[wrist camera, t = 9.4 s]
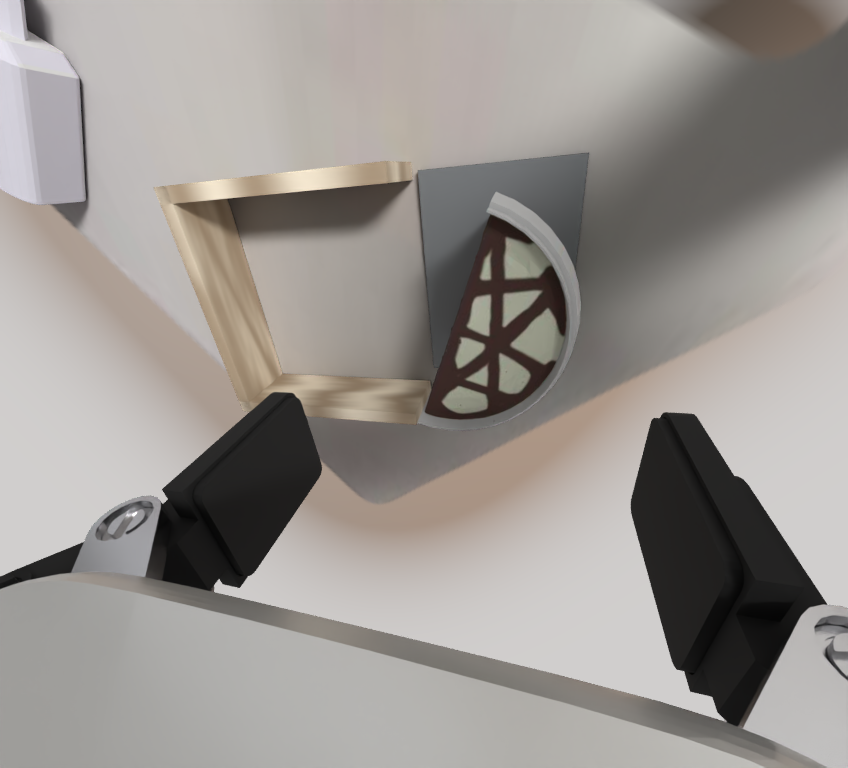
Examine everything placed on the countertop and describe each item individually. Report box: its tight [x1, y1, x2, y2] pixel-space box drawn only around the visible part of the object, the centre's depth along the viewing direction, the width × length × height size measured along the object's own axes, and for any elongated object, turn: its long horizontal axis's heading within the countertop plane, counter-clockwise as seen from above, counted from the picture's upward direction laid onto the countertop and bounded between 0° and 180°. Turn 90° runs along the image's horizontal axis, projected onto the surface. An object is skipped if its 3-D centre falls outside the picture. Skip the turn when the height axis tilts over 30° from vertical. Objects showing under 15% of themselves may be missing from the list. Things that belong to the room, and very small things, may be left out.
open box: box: [154, 161, 431, 425], centre depth 27 cm, size 16×17×5 cm
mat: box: [418, 153, 589, 368], centre depth 25 cm, size 10×14×1 cm
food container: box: [417, 192, 581, 431], centre depth 21 cm, size 12×6×10 cm, turn 165°
